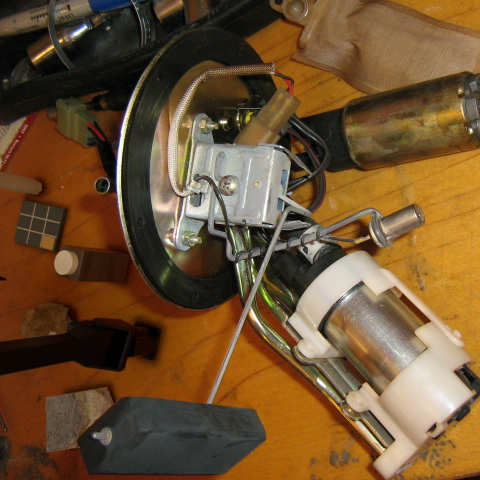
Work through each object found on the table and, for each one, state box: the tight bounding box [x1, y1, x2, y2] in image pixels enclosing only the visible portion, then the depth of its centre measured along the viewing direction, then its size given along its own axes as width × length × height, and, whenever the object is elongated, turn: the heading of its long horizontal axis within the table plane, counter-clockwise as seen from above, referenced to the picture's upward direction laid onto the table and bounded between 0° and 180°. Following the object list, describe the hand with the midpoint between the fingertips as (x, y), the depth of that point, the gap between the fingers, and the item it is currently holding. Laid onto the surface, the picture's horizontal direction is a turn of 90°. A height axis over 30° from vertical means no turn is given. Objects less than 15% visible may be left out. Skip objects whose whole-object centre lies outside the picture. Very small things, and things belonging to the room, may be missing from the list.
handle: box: [0, 171, 43, 195], centre depth 103 cm, size 5×6×15 cm
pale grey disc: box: [53, 250, 78, 275], centre depth 87 cm, size 5×5×1 cm
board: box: [13, 199, 68, 253], centre depth 107 cm, size 14×10×1 cm
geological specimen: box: [44, 386, 115, 453], centre depth 94 cm, size 11×6×15 cm
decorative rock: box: [19, 301, 75, 339], centre depth 101 cm, size 11×4×15 cm
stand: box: [55, 244, 131, 284], centre depth 93 cm, size 6×6×12 cm
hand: (0, 302), depth 90 cm, fingers open, 9 cm apart
